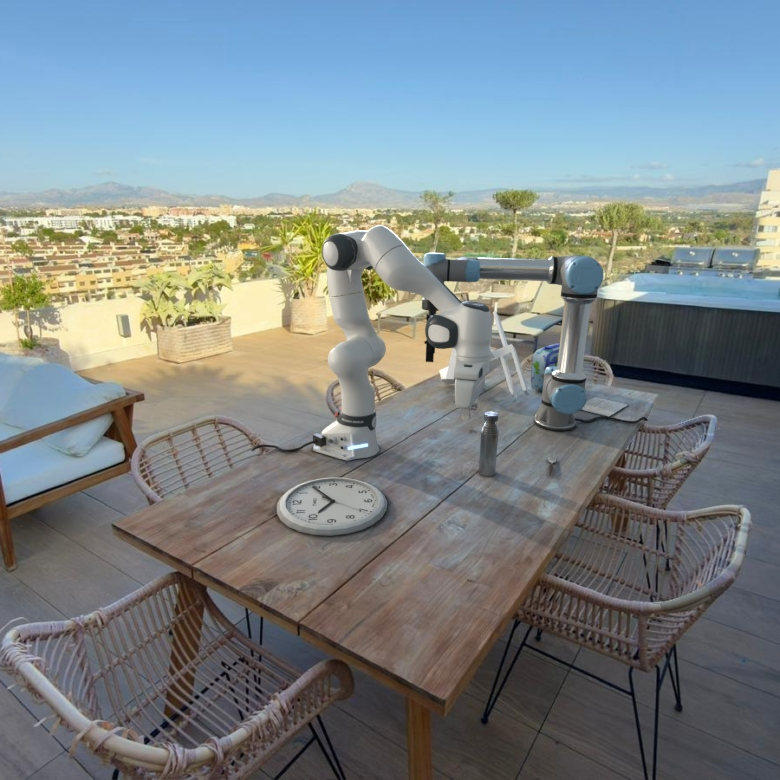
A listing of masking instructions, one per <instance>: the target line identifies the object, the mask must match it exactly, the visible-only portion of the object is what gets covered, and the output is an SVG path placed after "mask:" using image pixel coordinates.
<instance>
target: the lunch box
mask: <svg viewBox="0 0 780 780" xmlns="http://www.w3.org/2000/svg"><path fill="white" fill-rule="evenodd" d="M559 346H560V343H553V344H550V345H547V346H546V345H545V346H544V347H541V348H538V349H537V350H536V351H535V352H534V354H533V357H532V362H531V371H530V372H531V374H530V387H531V389H533V390H539V391H543V382H544V373H545V369H546V368H547V367H553V366H557V364H558V355H559Z"/></svg>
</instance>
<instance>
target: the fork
mask: <svg viewBox="0 0 780 780" xmlns="http://www.w3.org/2000/svg"><path fill="white" fill-rule="evenodd" d="M557 458H558V452H556V454H555V451H554V452H553V454H551V453H549V454H548V460H547V461H548V462H549V463H550V465H549V467H548V472H549V473H548V474H549V477H551V474H552V472H553V469H554V465H553V464H554V463H556V462H557Z"/></svg>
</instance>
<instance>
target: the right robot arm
mask: <svg viewBox="0 0 780 780" xmlns="http://www.w3.org/2000/svg"><path fill="white" fill-rule="evenodd" d="M422 264H423V265H424V266H425V267H426V268H428V269H429V270H430V271H431V272H432V273H433V274H435V275H436V276H437V277H438V278H439V279H440V280H441V281H442V282H443V283H444V284H445V282H447V283H449V282H452V283H453V282H457V283H468V284H470V283H477V282H479V281H480V280H495V281H497V280H499V281H500V280H501V281H526V282H527V281H531V282H546V283H547V284H548V285H557V286H561V289H560V298H561V299H562V300H563V303H564V305H563V313H562V322H561V330H560V339H559V344H560V346H559V355H558V364H557V366H553V367H547V368H546V369H545V373H544V382H543V390H542V394H541V402H540V405H539V407H538V410H537V411H536V413H535V414H534V424H535V425H536V426H537V427H539V428H542V429H544V430H549V431H556V432H567V431H572V430H574V429H575V428H576V422H580V423H586V424H587V423H592V422H595V421H597V420H602V419H603V420H610V421H615V422H620V423H624V424H631V425H632V424H638V423H640V422H641V421H643V420H644V421H646V422H648V421H649V420H648V418H647V417H646V416H641V417H640V418H638V419H637V420H626V419H620V418H617V417H616V418H615V417H612V416H609V417H608V416H604V415H600V416H595V417H593V418H590V419H581V418H577V417H576V416H575V414H576V413H579V412H580V411H582V410H581V409H582V408H583V407H584V406H585V404H586V401H588V397H587V392H586V389H585V388H586V383H587V382H586V381H587V375H586V374H585V373H584V371H583V369H584V361H585V355H586V347H587V339H588V338H587V337H588V330H589V324H590V318H591V317H590V316H591V308H592V303H593V302H594V301H596V300H597V298H598V294H599V293H598V291H599V288H601V285H602V284H603V281H604V269H603V267H602V265H601V264H600V262H599V261H597V260H596V259H595V258H594V257H592V256H587V255H581V254H574V255H573V254H572V255H565V256H551V257H549V258H548V259H545V258H544V259H543V258H542V259H541V258H540V259H539V258H501V257H500V258H497V257H496V258H495V257H494V258H492V257H466V256H460V257H457V258H455V259H451V258H449V259H448V258H447V257H446V253H444V252H427V253H425V254H424V255H423V263H422ZM421 297H422V299H421V309H422V310H423V311H428V313H426V316H425V320H426V322H427V321H428V319H429V318H430V317H431V316H433V315H436V314H437V313H438V312H440V311H439V310H438V309H437V308H436V307H435V306H434V305H433V304H432V303H431V302H430V301H429V300H428V299H427V298H425V297H423V296H421ZM437 311H438V312H437ZM423 343H424V344H425V362H426V363H434V359H435V357H434V356H435V353H436V348H434V347H433V346H432V345H431V344H430V343H429V342H428V340H427V339H426V340H424V342H423Z"/></svg>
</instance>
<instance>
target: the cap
mask: <svg viewBox="0 0 780 780" xmlns="http://www.w3.org/2000/svg"><path fill="white" fill-rule="evenodd" d="M483 416H484V417H483V419H484V420H485V422H486V421H490V422H495V421H496V422H498V420H499V413H498V412H496V411H486V412H484V415H483Z"/></svg>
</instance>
